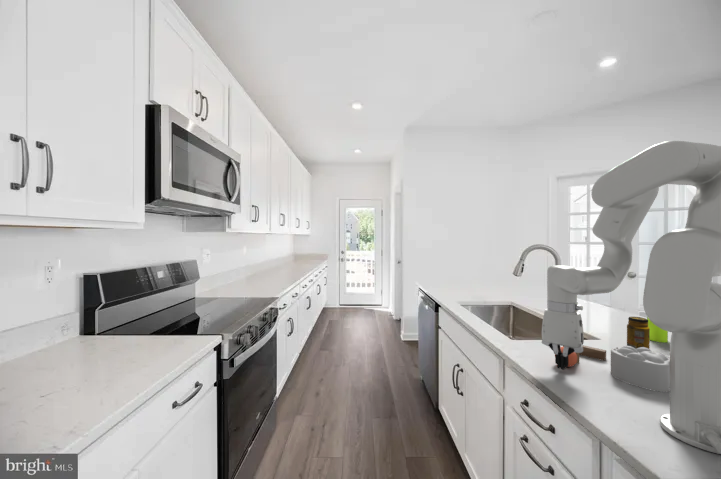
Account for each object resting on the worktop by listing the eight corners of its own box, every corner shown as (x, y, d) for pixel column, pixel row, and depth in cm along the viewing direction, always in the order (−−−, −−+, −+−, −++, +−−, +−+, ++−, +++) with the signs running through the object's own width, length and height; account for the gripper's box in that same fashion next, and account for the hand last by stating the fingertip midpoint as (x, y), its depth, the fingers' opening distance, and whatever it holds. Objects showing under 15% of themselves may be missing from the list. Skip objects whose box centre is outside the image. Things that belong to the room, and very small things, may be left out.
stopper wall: (604, 360, 103) (604, 351, 103) (563, 350, 112) (563, 342, 112) (606, 359, 104) (606, 350, 104) (564, 349, 113) (564, 341, 113)
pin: (580, 364, 100) (580, 337, 100) (571, 362, 101) (571, 336, 101) (578, 361, 102) (578, 335, 102) (569, 360, 103) (569, 334, 103)
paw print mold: (665, 394, 81) (665, 361, 81) (604, 376, 91) (604, 347, 91) (675, 384, 86) (675, 352, 86) (617, 368, 97) (617, 340, 97)
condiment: (654, 352, 110) (654, 318, 110) (646, 358, 105) (646, 322, 105) (627, 346, 116) (627, 314, 116) (619, 351, 111) (619, 317, 111)
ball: (580, 347, 97) (581, 364, 98) (560, 340, 102) (562, 356, 103) (570, 356, 94) (571, 373, 95) (550, 348, 99) (551, 365, 101)
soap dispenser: (642, 339, 124) (642, 289, 124) (651, 336, 127) (651, 287, 127) (661, 343, 119) (661, 291, 118) (670, 341, 121) (670, 289, 121)
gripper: (595, 309, 90) (595, 372, 91) (539, 301, 102) (539, 357, 102) (588, 313, 86) (588, 380, 86) (530, 304, 97) (530, 363, 97)
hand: (561, 367), depth 94 cm, fingers closed
